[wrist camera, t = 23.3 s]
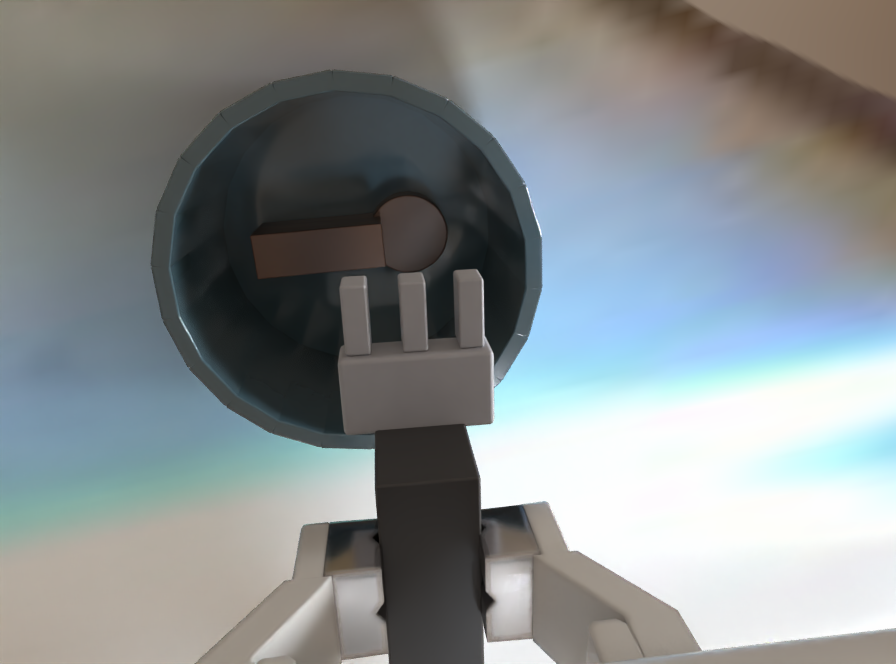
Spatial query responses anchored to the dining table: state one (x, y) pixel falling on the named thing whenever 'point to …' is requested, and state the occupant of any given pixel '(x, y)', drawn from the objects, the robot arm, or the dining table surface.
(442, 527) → the two-tone pronged bar
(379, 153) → the blue-grey round hollow container
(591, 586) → the robot arm
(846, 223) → the dining table surface
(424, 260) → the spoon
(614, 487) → the dining table surface
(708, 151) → the dining table surface
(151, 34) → the dining table surface
